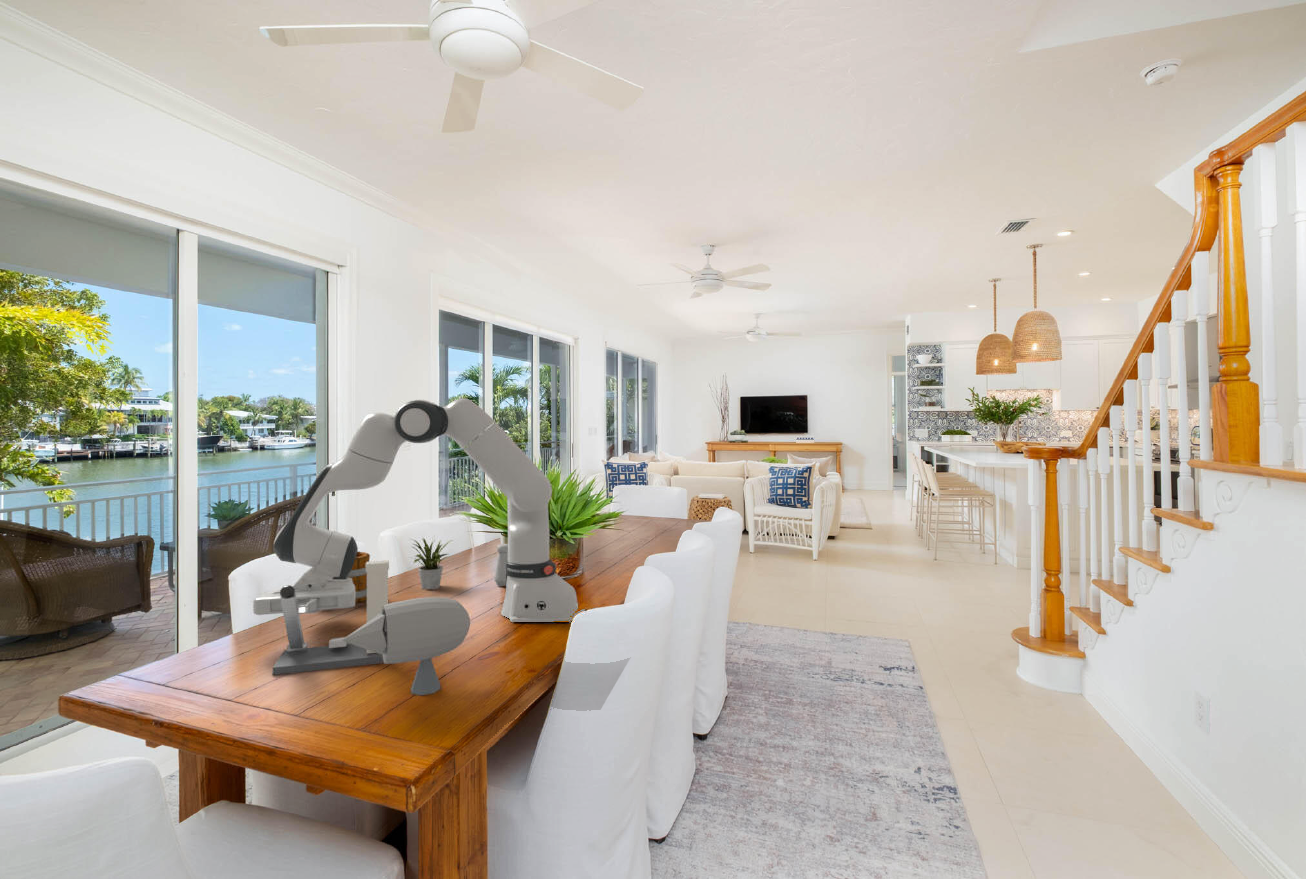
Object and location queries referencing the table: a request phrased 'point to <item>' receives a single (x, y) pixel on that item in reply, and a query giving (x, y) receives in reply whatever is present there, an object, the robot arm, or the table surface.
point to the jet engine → (415, 635)
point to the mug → (360, 576)
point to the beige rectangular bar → (376, 588)
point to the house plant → (430, 565)
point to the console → (325, 659)
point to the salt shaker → (501, 565)
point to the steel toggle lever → (292, 620)
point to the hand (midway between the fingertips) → (300, 609)
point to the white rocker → (337, 642)
